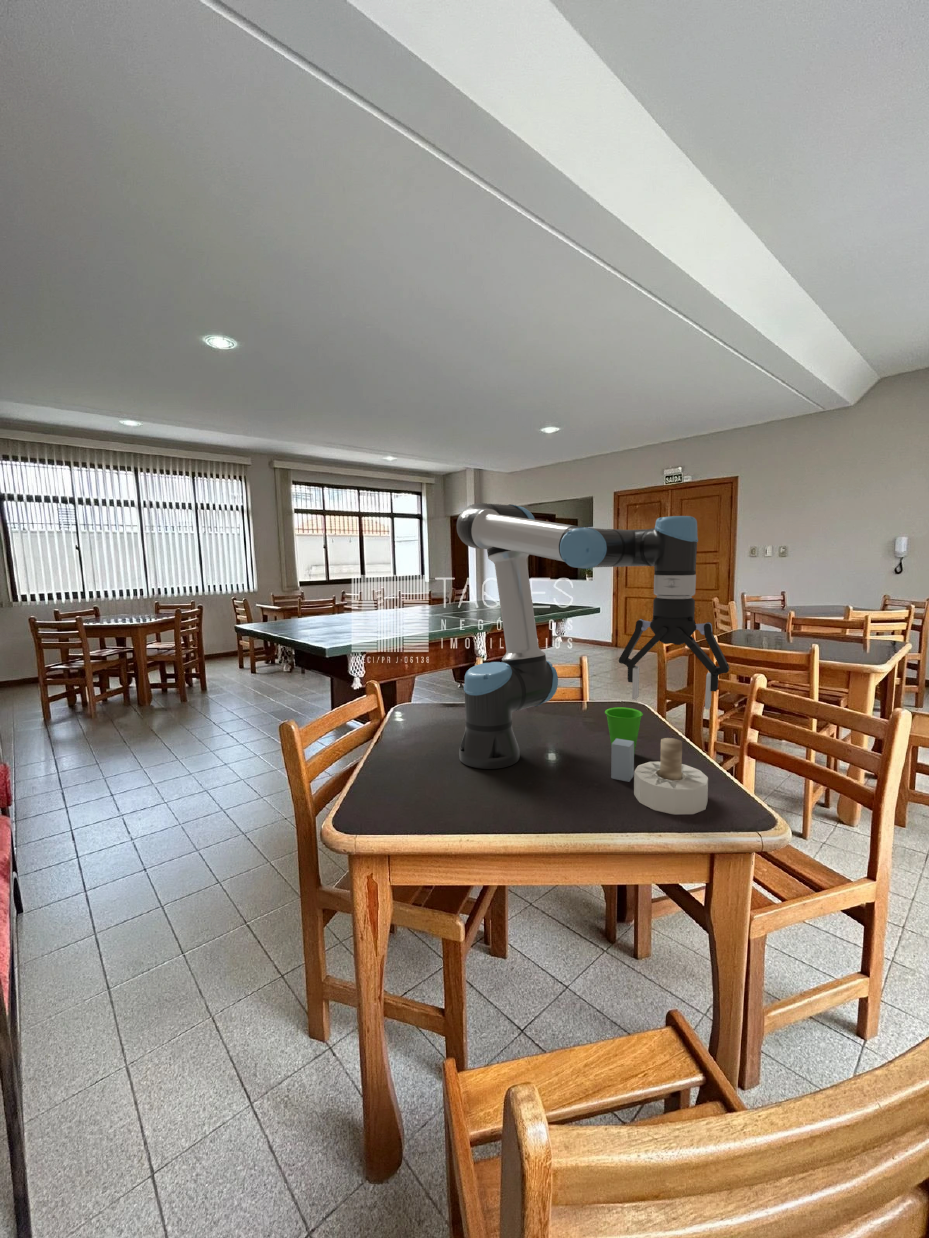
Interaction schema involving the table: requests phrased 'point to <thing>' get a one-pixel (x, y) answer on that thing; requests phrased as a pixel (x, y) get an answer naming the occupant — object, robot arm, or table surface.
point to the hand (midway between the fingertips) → (670, 702)
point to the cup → (623, 723)
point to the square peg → (622, 760)
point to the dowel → (671, 759)
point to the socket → (671, 789)
